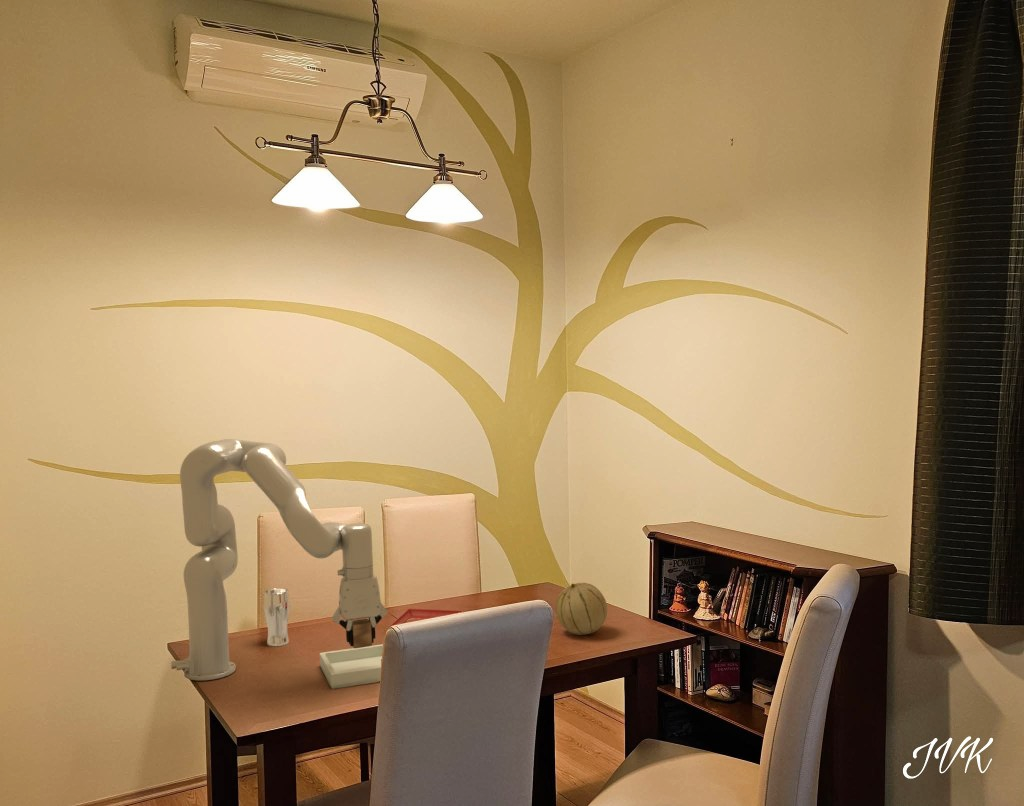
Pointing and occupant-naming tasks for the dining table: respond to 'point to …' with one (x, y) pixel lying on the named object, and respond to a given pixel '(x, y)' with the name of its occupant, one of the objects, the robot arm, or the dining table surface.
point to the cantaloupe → (581, 608)
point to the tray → (352, 666)
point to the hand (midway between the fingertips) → (361, 642)
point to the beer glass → (277, 615)
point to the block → (361, 633)
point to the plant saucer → (421, 614)
